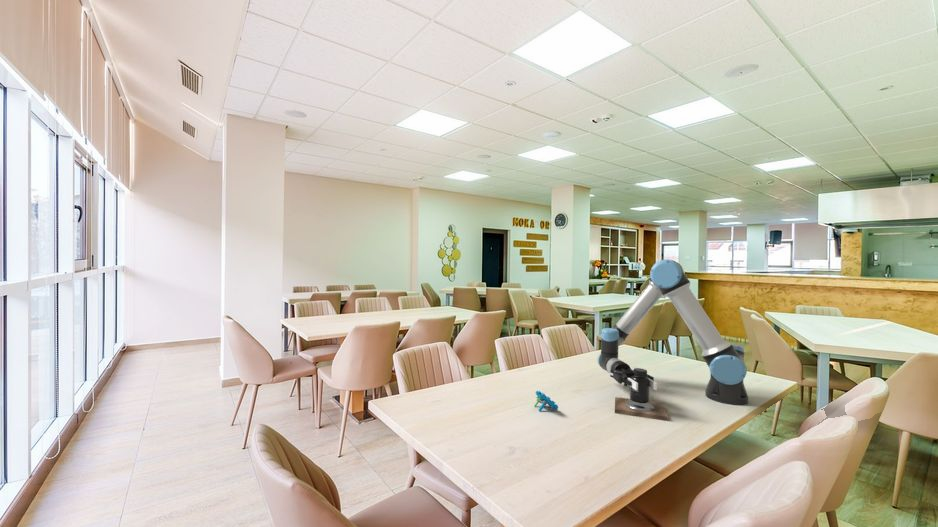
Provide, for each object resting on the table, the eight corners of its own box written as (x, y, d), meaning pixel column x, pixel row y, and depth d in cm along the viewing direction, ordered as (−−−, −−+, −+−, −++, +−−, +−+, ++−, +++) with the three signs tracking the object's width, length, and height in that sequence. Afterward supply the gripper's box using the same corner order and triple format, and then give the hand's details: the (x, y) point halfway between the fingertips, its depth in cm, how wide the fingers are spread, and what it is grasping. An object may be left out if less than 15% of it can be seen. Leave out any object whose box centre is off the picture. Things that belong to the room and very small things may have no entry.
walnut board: (663, 407, 152) (663, 402, 152) (667, 420, 139) (667, 415, 139) (615, 400, 159) (615, 396, 159) (614, 413, 146) (614, 408, 146)
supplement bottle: (629, 402, 147) (630, 370, 147) (629, 396, 153) (630, 366, 153) (649, 404, 144) (650, 373, 144) (648, 398, 151) (649, 368, 151)
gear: (564, 409, 144) (546, 391, 143) (555, 422, 142) (537, 404, 141) (548, 402, 155) (532, 386, 153) (540, 415, 153) (523, 398, 151)
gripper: (640, 377, 167) (671, 396, 144) (596, 377, 166) (620, 396, 143) (641, 360, 167) (672, 376, 144) (596, 360, 166) (621, 376, 143)
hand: (646, 386), depth 144 cm, fingers closed on supplement bottle, 7 cm apart
